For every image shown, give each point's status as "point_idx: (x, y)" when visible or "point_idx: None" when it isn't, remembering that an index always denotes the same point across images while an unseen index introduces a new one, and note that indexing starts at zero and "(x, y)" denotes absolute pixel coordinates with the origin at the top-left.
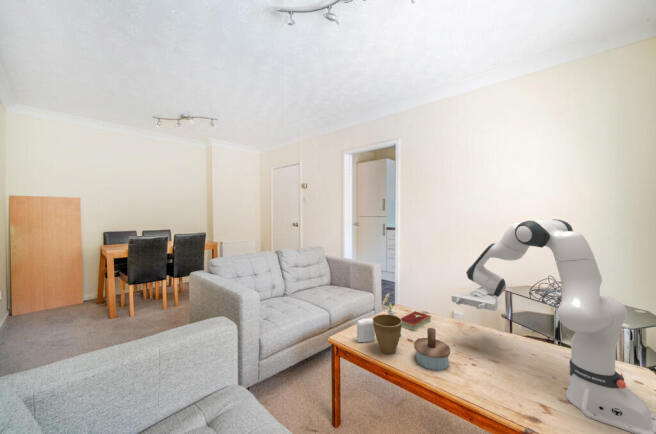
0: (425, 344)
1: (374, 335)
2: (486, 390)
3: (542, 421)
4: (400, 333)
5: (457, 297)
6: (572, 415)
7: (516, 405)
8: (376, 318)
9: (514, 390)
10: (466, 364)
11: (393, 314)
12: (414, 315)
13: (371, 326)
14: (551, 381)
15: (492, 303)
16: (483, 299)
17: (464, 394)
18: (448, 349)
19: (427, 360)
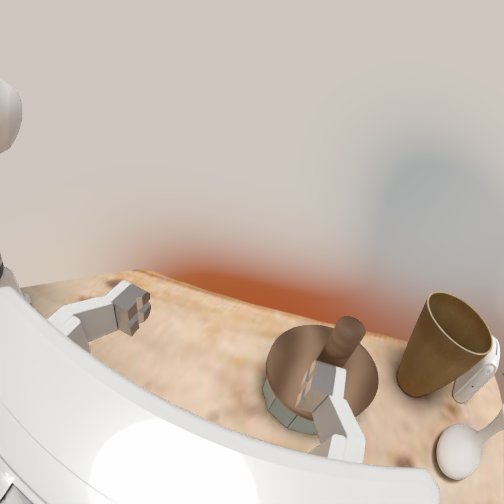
0: (345, 368)
1: (461, 387)
2: (172, 327)
3: (105, 282)
4: (439, 457)
5: (367, 465)
6: (50, 299)
7: None
8: (483, 334)
9: (110, 340)
10: (210, 417)
11: (498, 422)
12: None
13: (478, 362)
14: None
15: (5, 287)
16: (10, 405)
17: (219, 307)
18: (274, 369)
19: None
